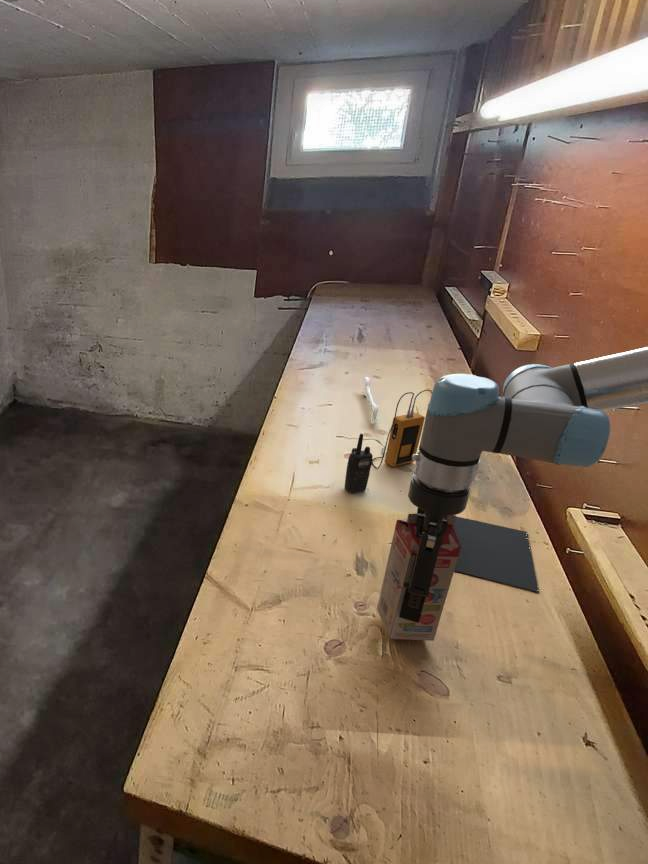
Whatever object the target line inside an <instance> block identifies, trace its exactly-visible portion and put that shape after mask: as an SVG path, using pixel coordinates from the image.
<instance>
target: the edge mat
mask: <svg viewBox="0 0 648 864" xmlns="http://www.w3.org/2000/svg"><path fill="white" fill-rule="evenodd" d="M453 527H454V529H455V532H456V534H457V537H458V539H459V542H460V545H461V549H460V553H459V556H458V560H457V563H456V566H455V570H454V572H455V573H459V574H463V575H467V576H470V577H476V578H480V579H482V580H487V579H488V580H487V581H490V580H491V582H494V581H495V583H498V584H502V585H506V586H510V587H514V588H518V589H521V588H522V589H523V590H525V589H526V591H529V590H531V591H530V592H533V591H535V592H534V593H537V592H539V593H540V590H539V585H538V579H537V575H535V574H536V569H535V564H534V559H533V555H532V554H533V553H532V549H531V545H530V546H529V544H530V539H529V534H526V533H528V531H525V530H521V529H517V528H516V529H515V528H511V527H507V526H502V525H497V524H493V523H489V522H485V521H479V520H476V519H475V520H474V519H470V518H465V517H461V516H457V515H456V518H455V522H454V524H453ZM526 535H527V536H526ZM526 538H528V539H529V540H528V539H526ZM528 541H529V543H528ZM529 547H530V549H529ZM530 550H531V551H530ZM537 586H538V587H537ZM522 589H521V590H522ZM537 590H539V591H537ZM536 591H537V592H536Z"/></svg>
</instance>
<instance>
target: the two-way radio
mask: <svg viewBox="0 0 648 864" xmlns="http://www.w3.org/2000/svg"><path fill="white" fill-rule="evenodd" d="M363 440H364V433H359V436H358V441H357V445H356V447H353V448H351V453H350V454H349V456H348V460H347V465H346V471H345V480H344V489H345V490H346V492H349V493H359V492H365V491H366V490H367V486H368V484H369V483H368V482H369V479H370V473H371V468H372V463H373V461H372V460H373V459H374V458H373V457H374V456H373V454H372V452H371V447H370V446H365V447H364V450H362V447H363Z"/></svg>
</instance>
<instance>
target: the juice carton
mask: <svg viewBox="0 0 648 864" xmlns="http://www.w3.org/2000/svg"><path fill="white" fill-rule="evenodd" d="M417 515H418V514H417V513H407V519H396V521H395V527H394V531H393V535H392V539H391V543H390V544H391V545H390V549H389V553H388V558H387V562H386V566H385V571H384V575H383V579H382V584H381V588H380V592H379V597H378V602H377V606H376V611H377V613H378V615H379V618H380V620H381V622H382V624H383V627H384V628H385V631H386V633H387V635H388V637H389V639H391V640H408V641H428V642H429V641H432V642H434V640H435V637H436V634H437V630H438V627H439V624H440V620H441V617H442V613H443V610H444V607H445V604H446V599H447V596H448V593H449V590H450V588H451V583H452V580H453V576H454V572H455V571H454V570H455V566H456V563H457V560H458V556H459V553H460V549H461V545H460V542H459V539H458V537H457V534H456V532H455V529H454V527H453V524H454V522H455V518H456V516H457V515H450V516H447V519H445V517H443V520H447V521H448V524H447V529H446V531H445V532H444V534H443V538H442V540H443V542H442V543H441V547H440V549H439V552H438V556H437V560H436V564H435V569H434V573H433V577H432V581H431V585H430V589H429V595H428V597H426V598H425V601H424V605H423V609H422V612H421V616H420V620H419V623H417V622H413V621H410V620H406V619H403V618H400V617H399V615H400V610H401V606H402V602H403V598H404V595H405V591H406V587H403V582H406V583H408V582H409V581H410V576H411V571H412V567H413V563H414V559H415V555H417V552H418V548H419V544H420V539H421V538H420V537H421V531H420V536H419V538H417V537H415V536H416V530H417V525H416V519H417ZM419 515H424V514H419Z"/></svg>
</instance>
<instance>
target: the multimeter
mask: <svg viewBox="0 0 648 864" xmlns="http://www.w3.org/2000/svg"><path fill="white" fill-rule="evenodd" d="M426 391H428V392H430V394H431V395H432V392H433V390H431V389H424V390H421V391H420V392H419V393H417V394H416V396H415V393H414V392H411V391H410V392H409V391H408V392H405V393H404V394H402V395H401V396H400V398H399V399H398V402H397V404H396V407H395V413H394V417H393V418H392V423H391V426H390V429H389V430H388V434H387V437H386V441H385V445H384V446H385V447H384V446H382V448H381V450H382V451H381V452H382V456H377V457H374V458H372V464H371V466H372V467H374V468H375V469H377V470H378V469H380V467H381V466H382V463H383V460H384V463H386V464H387V465H389V466H390V467H392V468H396V467H398V466H402V465H407V464H412V463H414V462H416V461H415V460H413V459H412V455H413V454H418V449H419V445H420V441H421V436H422V432H423V427H424V422H425V418H426V416H424V415H422V414H420V413H417V412H415V404H416V399H417V397H419V395H420V394H422V393H424V392H426ZM408 394H409V395H410V394H412V396H411V399H410V403H409V407H408V410H407V413H406V414H403V415H402V414H401V415H397V411H398V407H399V404H400V402H401V400H402V398H403V397H404V396H406V395H408ZM414 396H415V397H414ZM413 399H414V400H413ZM412 402H413V404H412ZM376 459H381V460H380V464H379V466H378V467H377V466H375V465H374V463H373V462H374V460H376Z"/></svg>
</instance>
